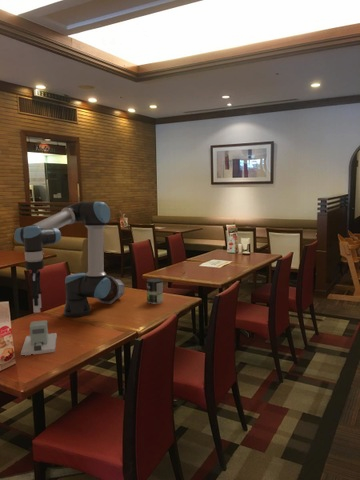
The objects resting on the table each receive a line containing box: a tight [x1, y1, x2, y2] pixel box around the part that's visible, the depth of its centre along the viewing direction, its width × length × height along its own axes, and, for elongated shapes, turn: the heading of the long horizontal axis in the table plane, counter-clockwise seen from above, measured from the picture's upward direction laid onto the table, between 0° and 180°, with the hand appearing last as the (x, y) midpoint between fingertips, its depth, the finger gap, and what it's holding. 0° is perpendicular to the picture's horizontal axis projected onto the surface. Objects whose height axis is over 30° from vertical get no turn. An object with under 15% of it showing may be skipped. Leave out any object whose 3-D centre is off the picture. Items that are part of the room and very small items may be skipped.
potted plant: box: [97, 275, 125, 305], centre depth 243 cm, size 18×18×30 cm
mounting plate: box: [20, 332, 58, 356], centre depth 180 cm, size 14×20×4 cm
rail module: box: [29, 319, 49, 346], centre depth 179 cm, size 7×7×9 cm
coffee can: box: [145, 277, 164, 305], centre depth 246 cm, size 10×10×14 cm
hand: (37, 309), depth 178 cm, fingers open, 6 cm apart
